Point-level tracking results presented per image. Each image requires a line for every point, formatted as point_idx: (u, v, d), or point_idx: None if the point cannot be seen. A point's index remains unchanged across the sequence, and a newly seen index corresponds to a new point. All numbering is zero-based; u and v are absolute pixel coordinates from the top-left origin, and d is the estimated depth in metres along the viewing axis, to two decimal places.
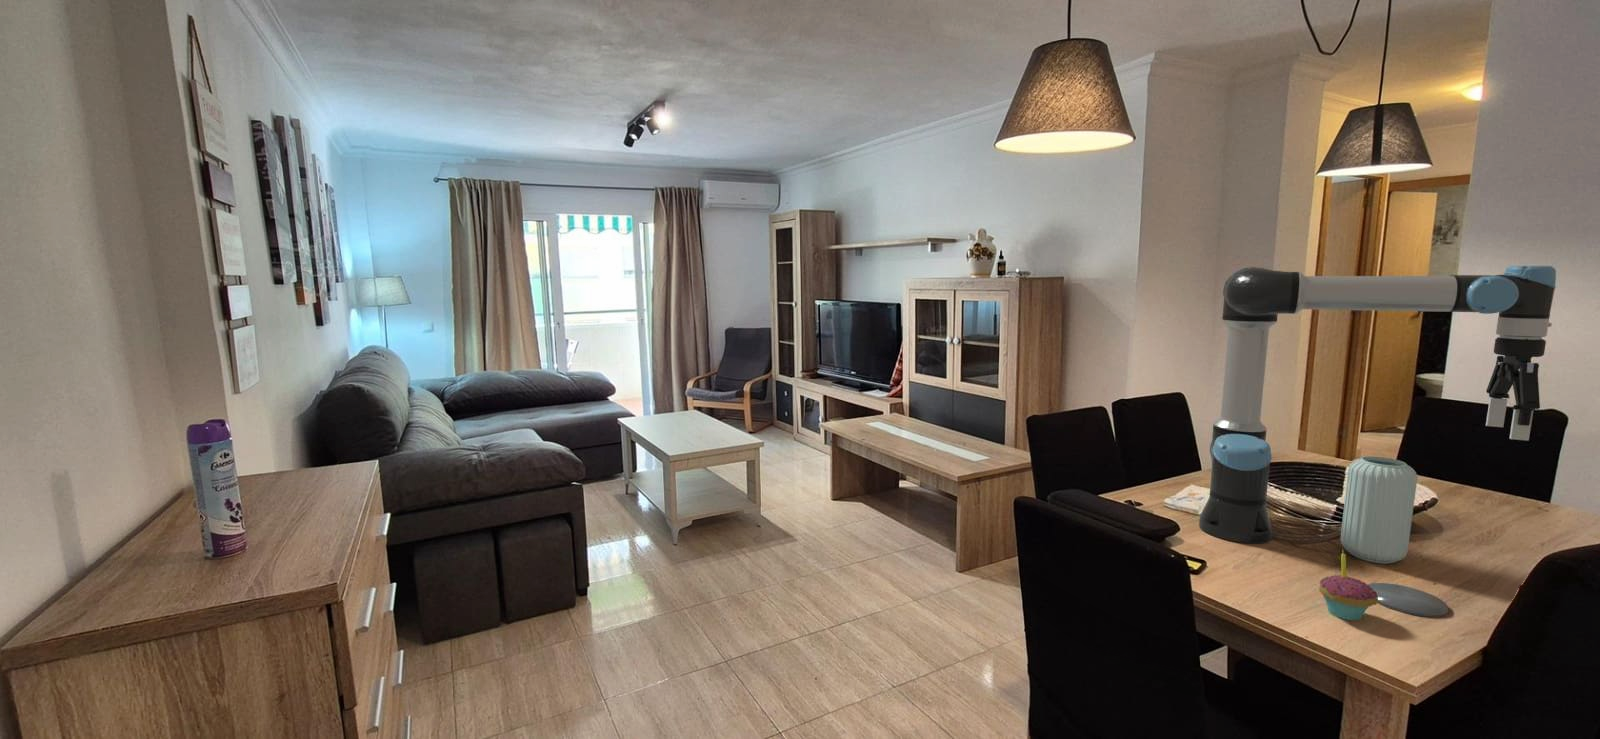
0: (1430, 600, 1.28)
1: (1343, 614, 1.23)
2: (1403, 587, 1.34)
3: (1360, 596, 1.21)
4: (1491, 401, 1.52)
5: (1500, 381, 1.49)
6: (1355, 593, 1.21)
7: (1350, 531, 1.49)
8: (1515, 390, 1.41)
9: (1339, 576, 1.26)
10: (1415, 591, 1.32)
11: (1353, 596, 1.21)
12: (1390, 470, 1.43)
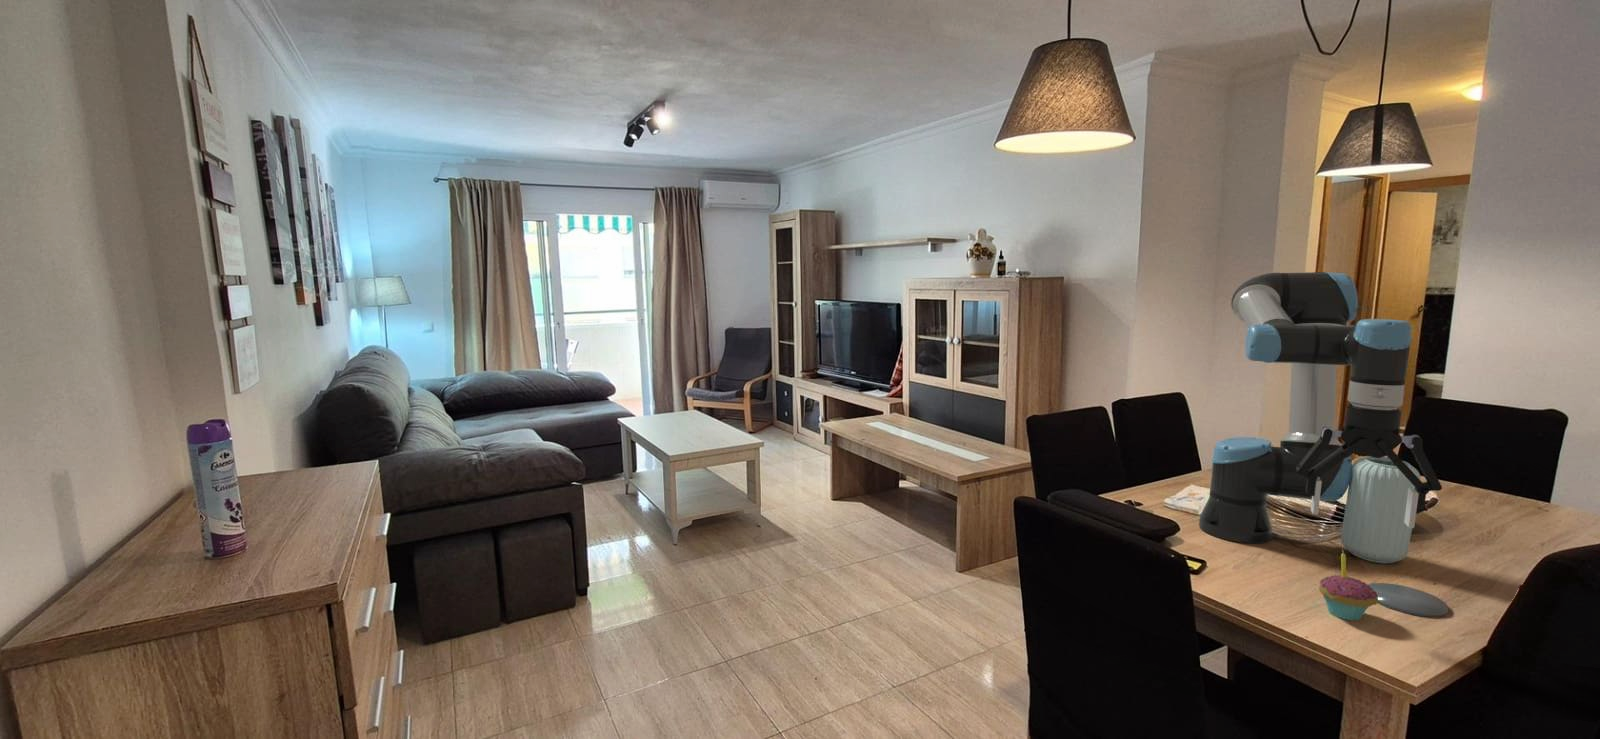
0: (1430, 600, 1.28)
1: (1343, 614, 1.23)
2: (1403, 587, 1.34)
3: (1360, 596, 1.21)
4: (1408, 492, 1.19)
5: None
6: (1355, 593, 1.21)
7: (1351, 530, 1.49)
8: None
9: (1339, 576, 1.26)
10: (1415, 591, 1.32)
11: (1352, 596, 1.21)
12: (1393, 471, 1.42)
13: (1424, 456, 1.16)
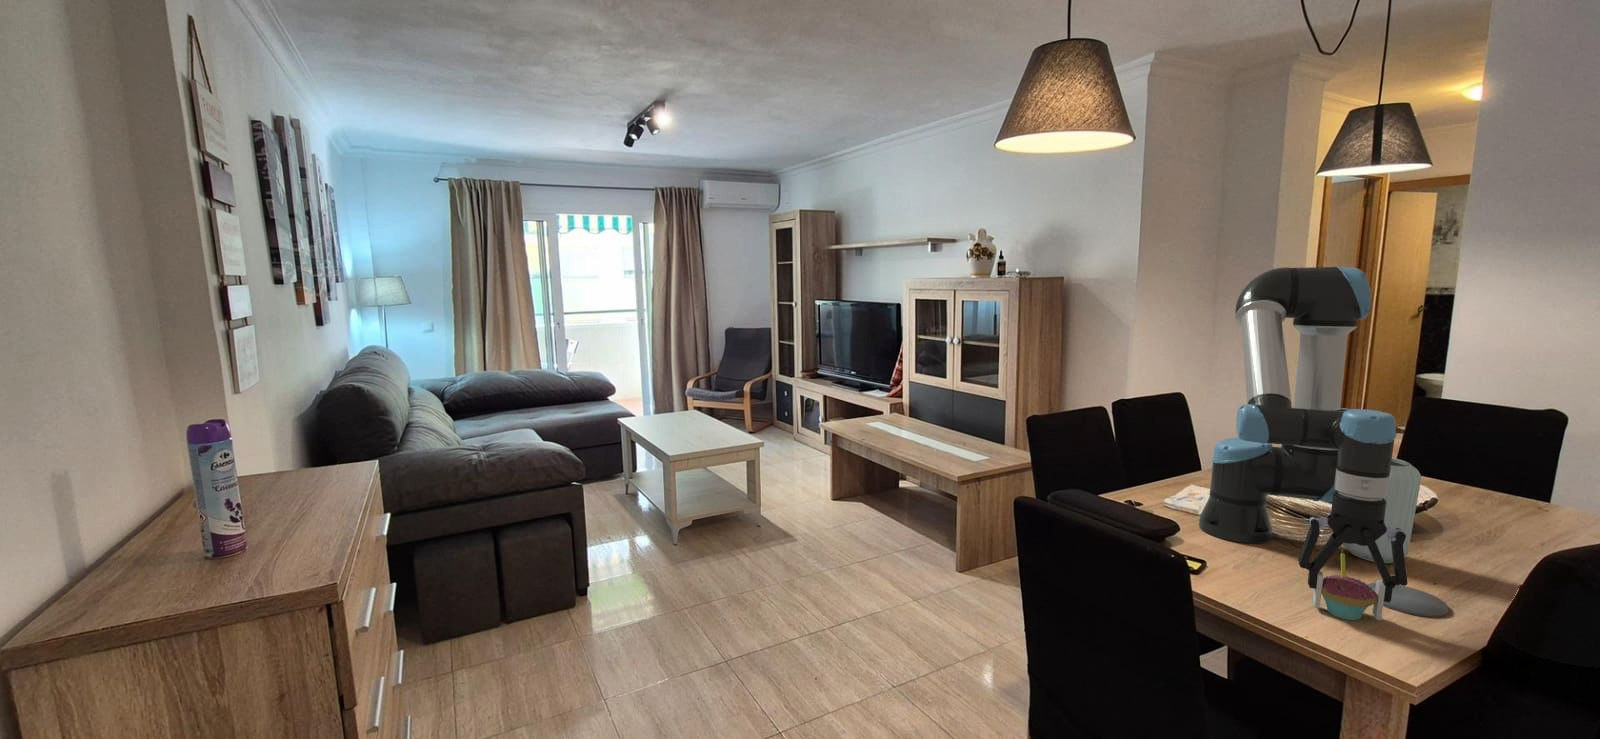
0: (1430, 600, 1.28)
1: (1342, 614, 1.23)
2: (1403, 587, 1.34)
3: (1360, 596, 1.21)
4: (1376, 583, 1.23)
5: (1370, 551, 1.23)
6: (1355, 593, 1.21)
7: None
8: None
9: (1338, 576, 1.26)
10: (1415, 591, 1.32)
11: (1352, 596, 1.21)
12: (1394, 470, 1.42)
13: (1402, 551, 1.19)
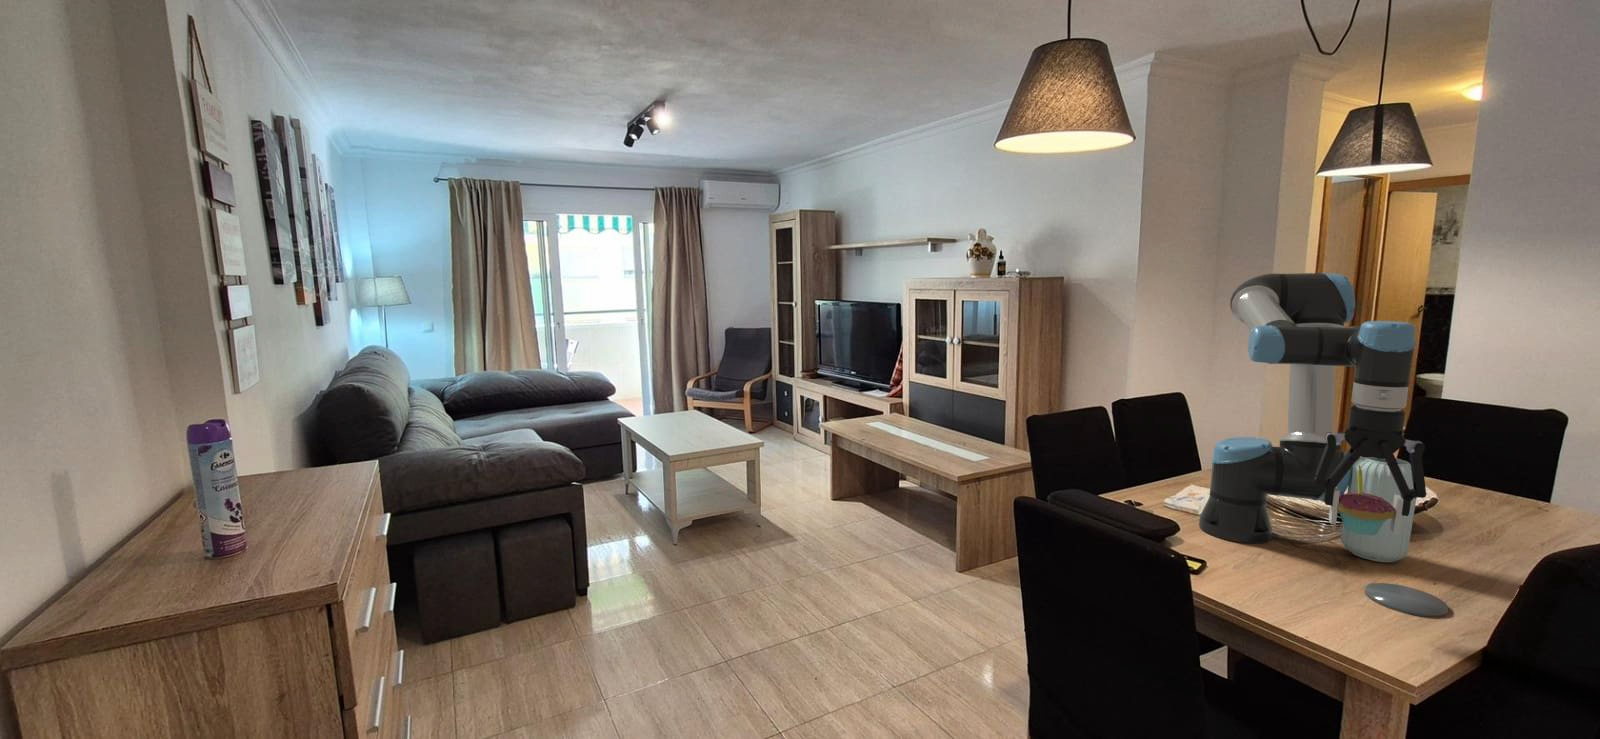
0: (1430, 600, 1.28)
1: (1359, 529, 1.22)
2: (1403, 587, 1.34)
3: (1377, 509, 1.19)
4: (1394, 498, 1.21)
5: (1388, 466, 1.21)
6: (1372, 507, 1.19)
7: None
8: None
9: (1355, 492, 1.24)
10: (1415, 591, 1.32)
11: (1369, 509, 1.19)
12: None
13: (1420, 463, 1.17)
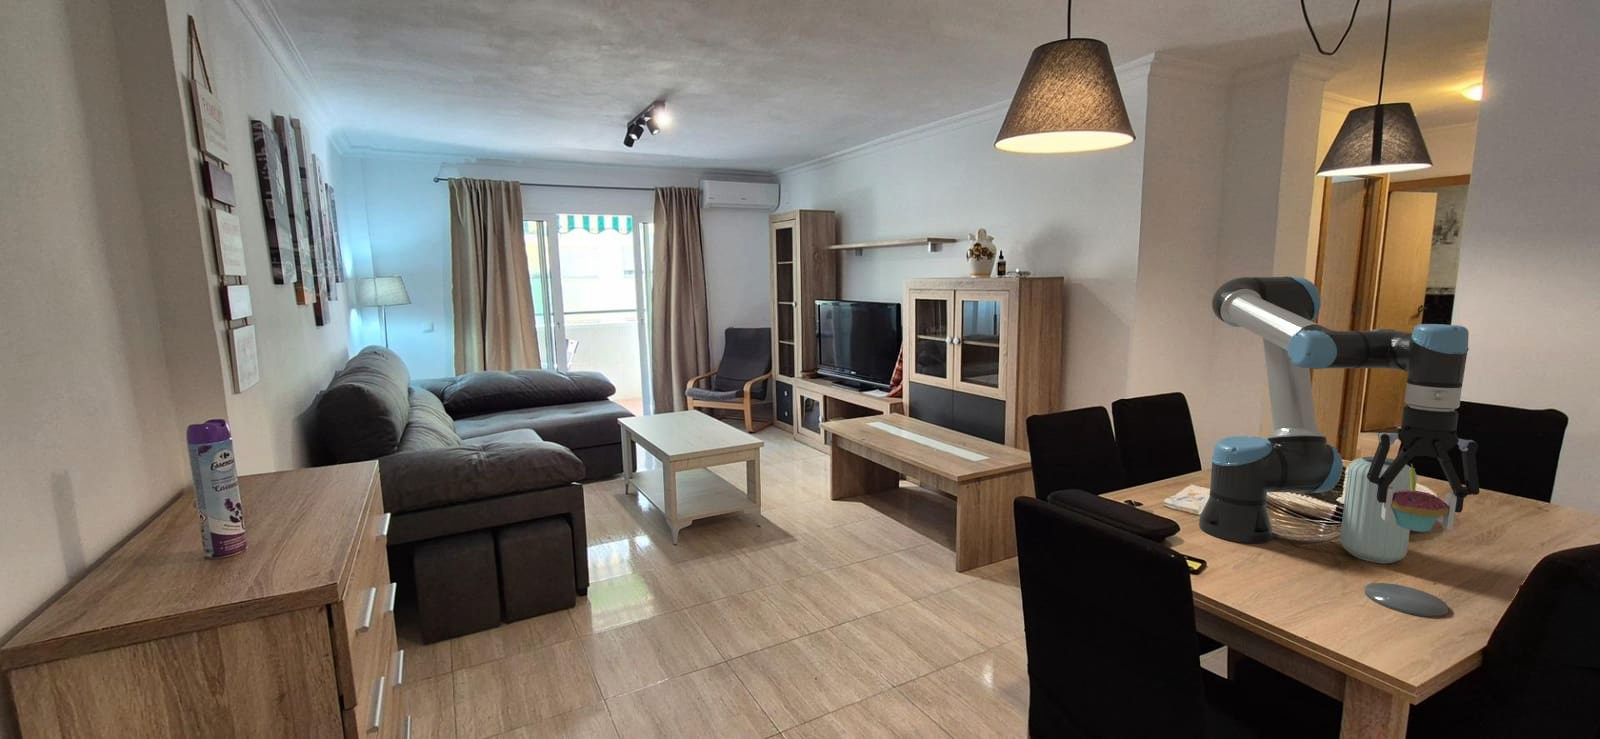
0: (1430, 600, 1.28)
1: (1413, 525, 1.26)
2: (1403, 587, 1.34)
3: (1431, 506, 1.23)
4: (1446, 495, 1.25)
5: (1440, 464, 1.25)
6: (1427, 504, 1.23)
7: (1349, 531, 1.49)
8: None
9: (1408, 490, 1.28)
10: (1415, 591, 1.32)
11: (1424, 506, 1.23)
12: None
13: (1474, 461, 1.21)
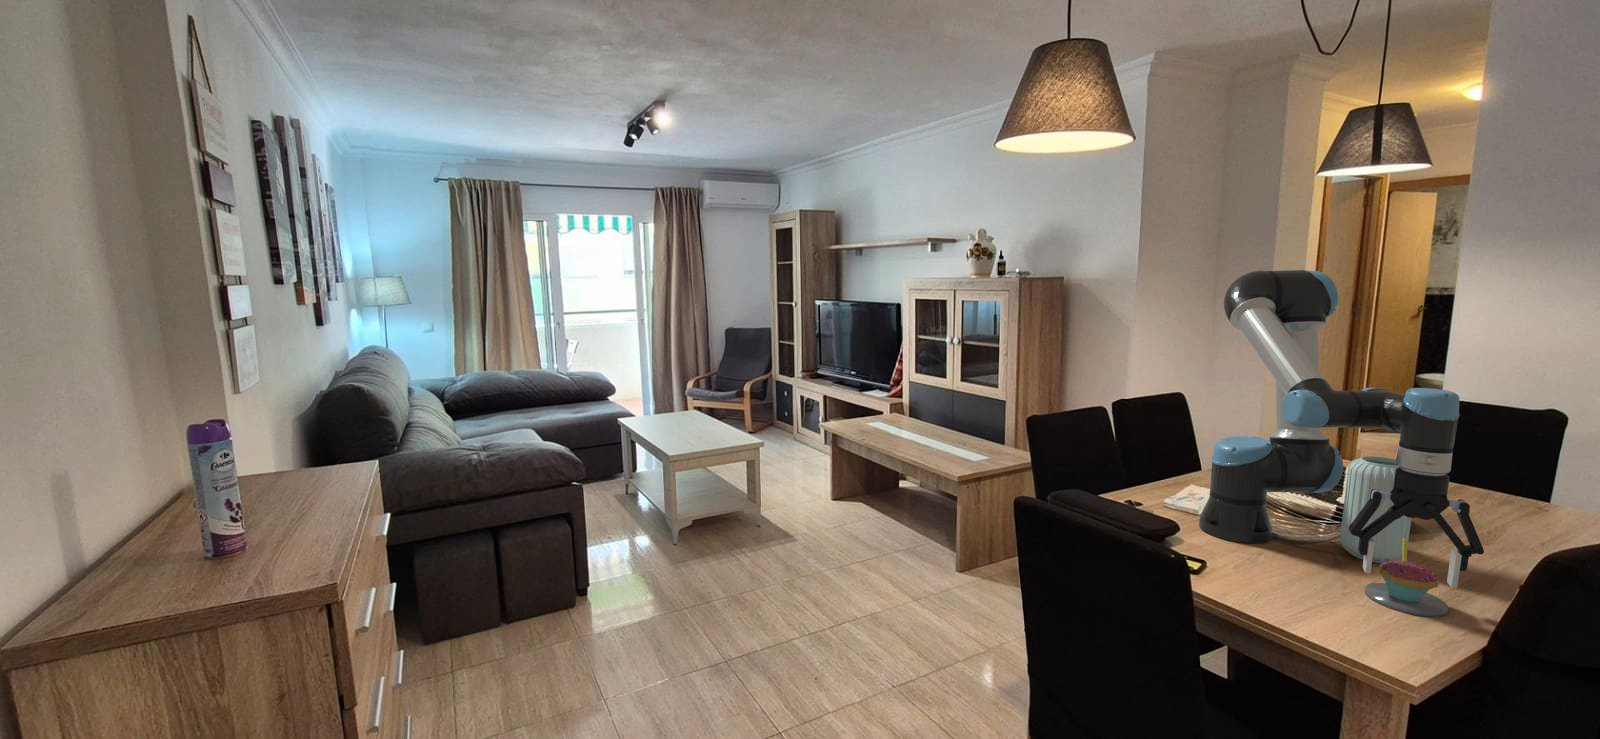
0: (1430, 600, 1.28)
1: (1404, 596, 1.28)
2: None
3: (1422, 579, 1.25)
4: (1451, 553, 1.26)
5: (1438, 524, 1.26)
6: (1418, 576, 1.26)
7: (1349, 531, 1.49)
8: None
9: (1400, 560, 1.30)
10: None
11: (1415, 579, 1.26)
12: (1389, 470, 1.43)
13: (1470, 521, 1.23)
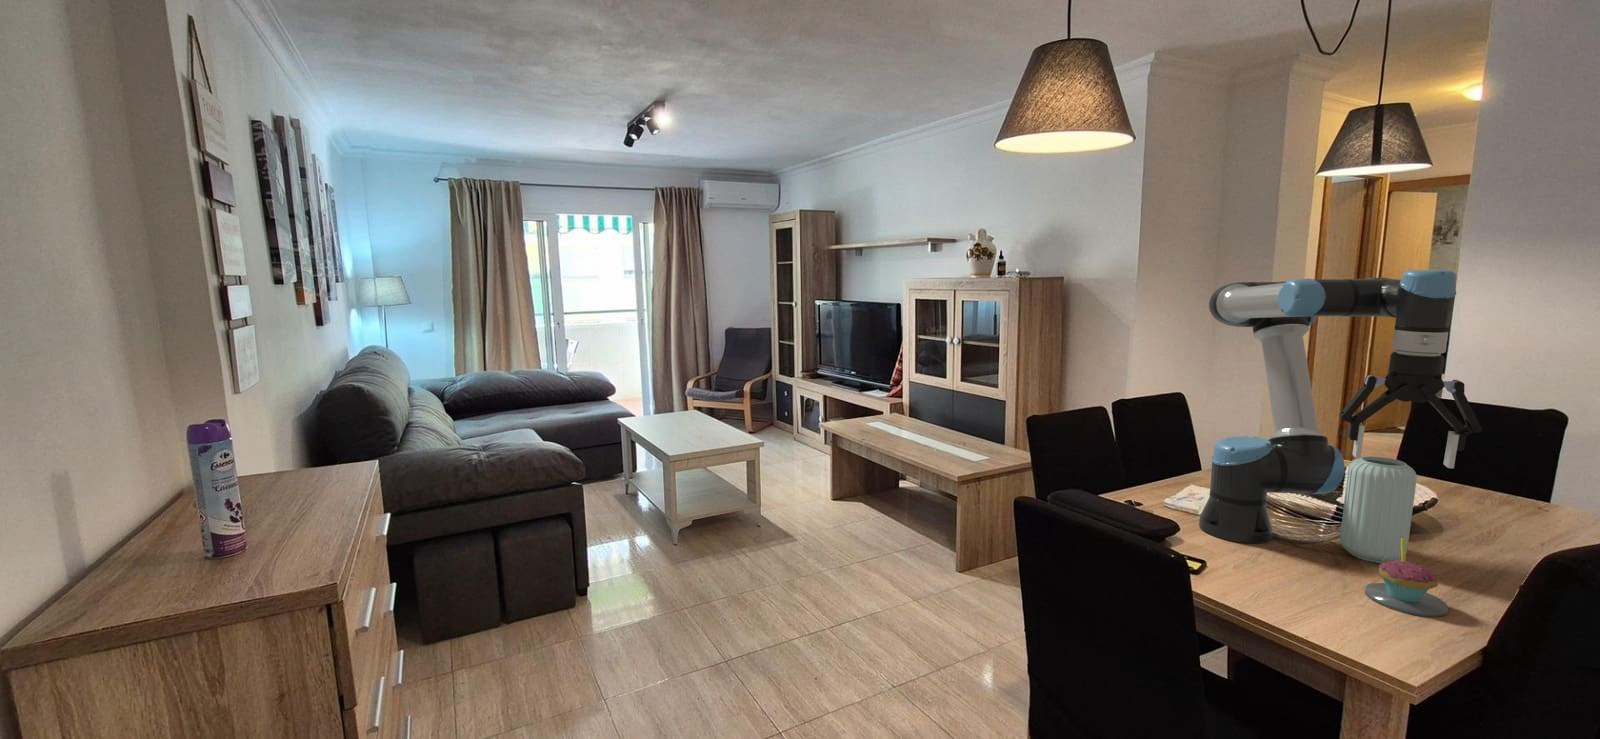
0: (1430, 600, 1.28)
1: (1404, 596, 1.28)
2: None
3: (1421, 579, 1.25)
4: (1448, 434, 1.25)
5: (1434, 407, 1.26)
6: (1417, 576, 1.26)
7: (1349, 531, 1.49)
8: None
9: (1398, 560, 1.30)
10: None
11: (1414, 579, 1.26)
12: (1389, 470, 1.43)
13: (1465, 400, 1.22)
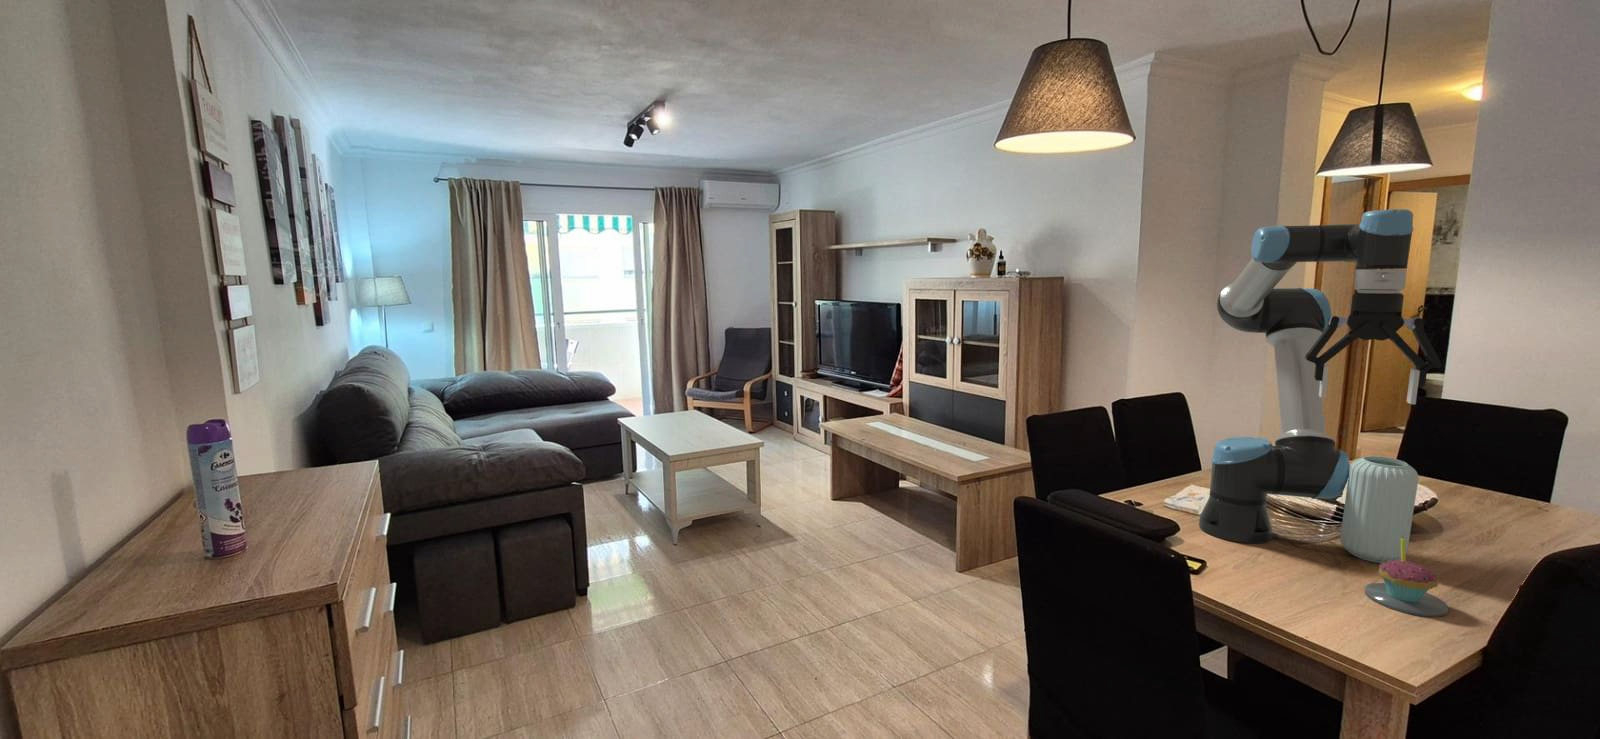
0: (1430, 600, 1.28)
1: (1404, 596, 1.28)
2: None
3: (1421, 579, 1.25)
4: (1410, 372, 1.28)
5: (1396, 345, 1.28)
6: (1417, 576, 1.26)
7: (1350, 530, 1.49)
8: None
9: (1398, 560, 1.30)
10: None
11: (1414, 579, 1.26)
12: (1391, 470, 1.42)
13: (1425, 335, 1.25)
